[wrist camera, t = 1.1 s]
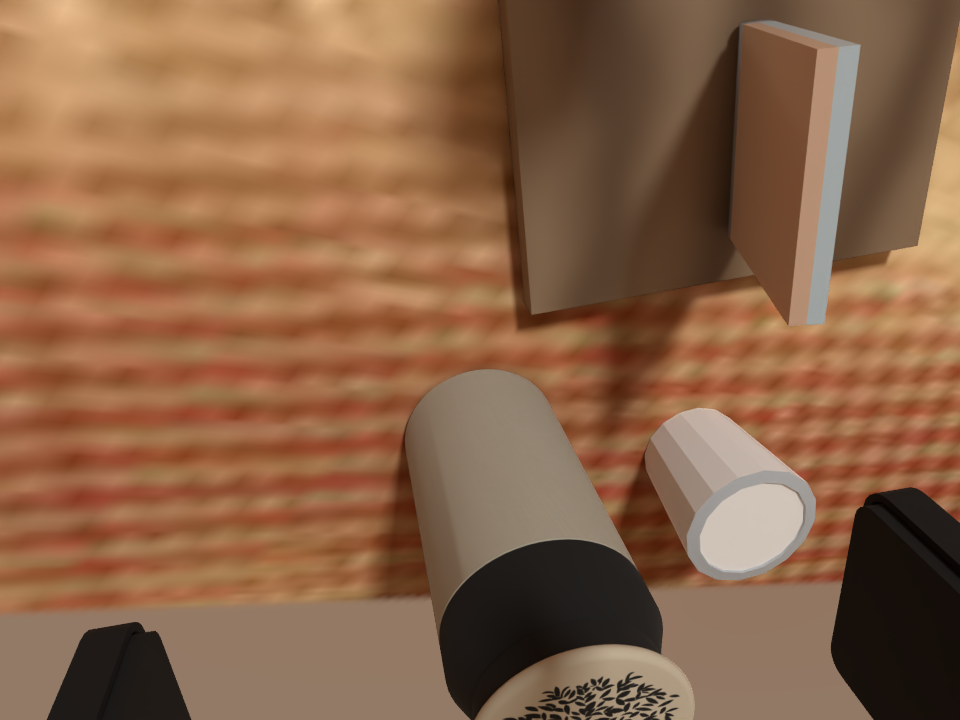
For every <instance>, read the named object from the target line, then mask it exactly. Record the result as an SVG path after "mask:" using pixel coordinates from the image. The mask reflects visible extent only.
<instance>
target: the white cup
mask: <svg viewBox="0 0 960 720" xmlns="http://www.w3.org/2000/svg"><path fill="white" fill-rule="evenodd" d="M645 466H646V471H647V473H648V475H649V477H650V479H651V482H652V484H653V486H654V488H655V490H656V492H657V494H658V496H659V498H660V500H661V502H662V504H663V506H664V508H665V510H666V512H667V514H668V516H669V518H670V520H671V522H672V524H673V526H674V529H675V531H676V533H677V535H678V537H679V539H680V541H681V543H682V545H683V547H684V549H685V551H686V553H687V555H688V557H689V558H690V560H691V561H692V562H693V564H694V565H695V567H696V568H697V570H698V571H699V572H702V573H704V574H706V575H708V576H710V577H712V578H714V579H717V580H742V579H745V578H749V577H752V576H756V575H759V574H763V573H765V572H767V571H768V570H770V569H772V568H773V567H775V566H777V565H778V564H780V563H782V562H783V561H785V560H787V559H788V558H789V557H790V555H791V554H792V553H793V552H794V551H795V550H796V549H797V548H798V547H799V546H800V545H801V544H802V543H803V542H804V541H805V539H806V537H807V535H808V533H809V531H810V529H811V527H812V525H813V523H814V521H815V507H816V499H815V497H814V495H813V493H812V491H811V489H810V487H809V485H808V483H807V482H806V481H805V480H804V479H802V478H801V477H800V476H799V475H797V474H796V473H795V472H794V471H793V470H791V469H790V468H789V467H788V466H787V465H785V464H784V463H783V462H782V461H781V460H779V459H778V458H777V457H776V456H775V455H773V454H772V453H771V452H770V451H769V450H767V449H766V448H765V447H764V446H762V445H761V444H760V443H759V442H758V441H756V440H755V439H754V438H753V437H752V436H750V435H749V434H748V433H747V432H746V431H744V430H743V429H742V428H741V427H740V426H738V425H737V424H736V423H735V422H733V421H732V420H731V419H730V418H729V417H727V416H725V415H724V414H722V413H720V412H719V411H717V410H715V409H705V408H696V409H692V410H688V411H684V412H681V413H678V414H677V415H675V416H674V417H672V418H671V419H669V420H667V421H666V422H664V423H663V424H662V425H661V426H660V427H659V429H658V430H657V431H656V432H655V433H654V435H653V436H652V437H651V438H650V441H649V443H648V446H647V449H646V452H645Z"/></svg>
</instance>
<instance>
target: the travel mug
mask: <svg viewBox="0 0 960 720" xmlns="http://www.w3.org/2000/svg"><path fill="white" fill-rule="evenodd" d="M405 449H406V456H407V461H408V467H409V473H410V478H411V484H412V490H413V496H414V501H415V507H416V513H417V519H418V524H419V530H420V536H421V542H422V547H423V553H424V559H425V564H426V570H427V576H428V582H429V587H430V593H431V599H432V604H433V610H434V616H435V622H436V627H437V633H438V639H439V645H440V650H441V656H442V662H443V667H444V673H445V679H446V684H447V687H448V690H449V692H450V695H451V697H452V698H453V700H454V702H455V703H456V704H457V705H458V707H459V708H460V709H461V710H462V711H463V712H464V713H465V714H466V715H467V716H468V717H469V718H470V719H471V720H693V717H694V708H695V702H694V695H693V691H692V687H691V685H690V683H689V680H688V679H687V677H686V676H685V674H684V673H683V671H682V670H681V669H680V668H679V667H678V666H677V665H676V664H674V663H673V662H672V661H671V660H669V659H668V658H666V657H665V656H663V655H662V654H661V646H662V634H663V625H662V618H661V614H660V611H659V609H658V607H657V605H656V603H655V601H654V599H653V597H652V595H651V593H650V592H649V590H648V588H647V586H646V584H645V582H644V580H643V578H642V577H641V575H640V573H639V571H638V569H637V567H636V565H635V563H634V562H633V560H632V558H631V556H630V554H629V552H628V550H627V549H626V547H625V545H624V543H623V541H622V539H621V537H620V535H619V534H618V532H617V530H616V528H615V526H614V524H613V522H612V520H611V519H610V517H609V515H608V513H607V511H606V509H605V507H604V505H603V504H602V502H601V500H600V498H599V496H598V494H597V492H596V491H595V489H594V487H593V485H592V483H591V481H590V479H589V477H588V476H587V474H586V472H585V470H584V468H583V466H582V464H581V462H580V461H579V459H578V457H577V455H576V453H575V451H574V449H573V447H572V446H571V444H570V442H569V440H568V438H567V436H566V434H565V433H564V431H563V429H562V427H561V425H560V423H559V421H558V419H557V418H556V416H555V414H554V412H553V410H552V408H551V406H550V404H549V403H548V401H547V399H546V397H545V396H544V394H543V393H542V392H541V391H540V390H539V389H538V388H537V387H536V386H535V385H534V384H533V383H531V382H530V381H529V380H527V379H525V378H523V377H521V376H519V375H517V374H514V373H511V372H507V371H502V370H492V369H485V370H475V371H469V372H465V373H462V374H459V375H456V376H454V377H451V378H449V379H447V380H445V381H443V382H442V383H440V384H439V385H437V386H436V387H434V388H433V389H432V390H431V391H429V392H428V393H427V394H426V395H425V396H424V397H423V398H422V400H421V401H420V402H419V403H418V405H417V406H416V407H415V409H414V411H413V413H412V414H411V417H410V419H409V422H408V425H407V428H406V433H405Z"/></svg>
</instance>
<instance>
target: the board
mask: <svg viewBox="0 0 960 720" xmlns="http://www.w3.org/2000/svg"><path fill="white" fill-rule="evenodd" d="M498 1H499V12H500V24H501V36H502V48H503V59H504V71H505V83H506V95H507V107H508V118H509V130H510V142H511V154H512V165H513V177H514V189H515V201H516V213H517V224H518V236H519V248H520V260H521V271H522V283H523V295H524V303H525V305H526V306H527V308H528V310H529V311H530V313H531V314H532V315H534V314H540V313H545V312H551V311H556V310H562V309H568V308H573V307H579V306H584V305H590V304H595V303H601V302H607V301H612V300H618V299H623V298H629V297H634V296H640V295H646V294H651V293H657V292H662V291H668V290H673V289H679V288H685V287H690V286H696V285H701V284H707V283H713V282H718V281H724V280H729V279H735V278H740V277H746V276H752V275H754V274H753V272H752V271H751V269H750V268H749V266H748V265H747V263H746V262H745V260H744V259H743V257H742V256H741V254H740V253H739V251H738V250H737V248H736V247H735V245H734V244H733V242H732V241H731V239H730V237H729V236H728V218H729V200H730V183H731V165H732V148H733V130H734V113H735V95H736V77H737V60H738V42H739V25H740V22H743V21H750V20H763V19H768V20H771V21H777V22H781V23H784V24H788V25H791V26H795V27H799V28H802V29H806V30H809V31H813V32H817V33H820V34H824V35H827V36H831V37H835V38H838V39H842V40H845V41H849V42H853V43H856V44H860V45H861V47H860V54H859V62H858V70H857V77H856V85H855V93H854V100H853V108H852V116H851V123H850V131H849V139H848V146H847V154H846V162H845V169H844V177H843V185H842V192H841V200H840V208H839V215H838V223H837V231H836V238H835V246H834V254H833V261H835V260H841V259H846V258H852V257H858V256H863V255H869V254H874V253H880V252H885V251H891V250H897V249H902V248H908V247H913V246H917V245H918V240H919V235H920V229H921V224H922V219H923V213H924V208H925V203H926V197H927V192H928V187H929V181H930V176H931V171H932V165H933V160H934V155H935V149H936V144H937V139H938V133H939V128H940V123H941V117H942V112H943V107H944V101H945V96H946V90H947V85H948V80H949V74H950V69H951V64H952V58H953V53H954V48H955V42H956V37H957V32H958V26H959V21H960V0H498Z"/></svg>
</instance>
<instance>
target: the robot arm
mask: <svg viewBox="0 0 960 720" xmlns="http://www.w3.org/2000/svg"><path fill="white" fill-rule="evenodd" d="M831 654H832V658H833V661H834V664H835V666H836V668H837V670H838V671H839V673H840V674H841V676H842V678H843V679H844V680H845V682H846V683H847V684H848V686H849V687H850V688H851V690H852V691H853V692H854V694H855V695H856V696H857V698H858V699H859V700H860V702H861V703H862V705H863V706H864V707H865V709H866V710H867V711H868V713H869V714H870V715H871V717H872V718H873V719H874V720H960V523H959V522H958V521H957V520H956V519H954V518H953V517H952V516H951V515H950V514H948V513H947V512H946V511H945V510H944V509H943V508H941V507H940V506H939V505H938V504H937V503H935V502H934V501H933V500H932V499H931V498H929V497H928V496H927V495H926V494H925V493H923V492H922V491H920V490H918V489H916V488H911V487H910V488H904V489H898V490H892V491H887V492H881V493H875V494H872V495H869V496H868V497H867V498H866V500H865V503H864V506H863V507H860V508H859V509H858V510H857V511H856V514H855V518H854V524H853V529H852V534H851V540H850V545H849V550H848V556H847V561H846V567H845V572H844V577H843V583H842V588H841V594H840V600H839V605H838V610H837V615H836V620H835V626H834V632H833V636H832V642H831ZM47 720H191V718H190V716H189V712H188V710H187V707H186V704H185V702H184V699H183V696H182V694H181V691H180V688H179V686H178V683H177V680H176V678H175V675H174V673H173V670H172V667H171V664H170V662H169V659H168V657H167V654H166V651H165V649H164V646H163V643H162V640H161V638H160V636H159V634H158V633H157V632H156V631H151V632H145V630H144V629H143V627H142V625H141V624H140V623H138V622H132V623H127V624H121V625H115V626H109V627H104V628H98V629H92V630H88V631H87V632H86V633H85V634H84V635H83V637H82V639H81V640H80V642H79V645H78V647H77V650H76V652H75V654H74V657H73V659H72V661H71V664H70V666H69V669H68V671H67V673H66V676H65V678H64V680H63V683H62V685H61V687H60V690H59V692H58V694H57V697H56V699H55V701H54V704H53V706H52V709H51V711H50V713H49V716H48V718H47Z"/></svg>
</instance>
